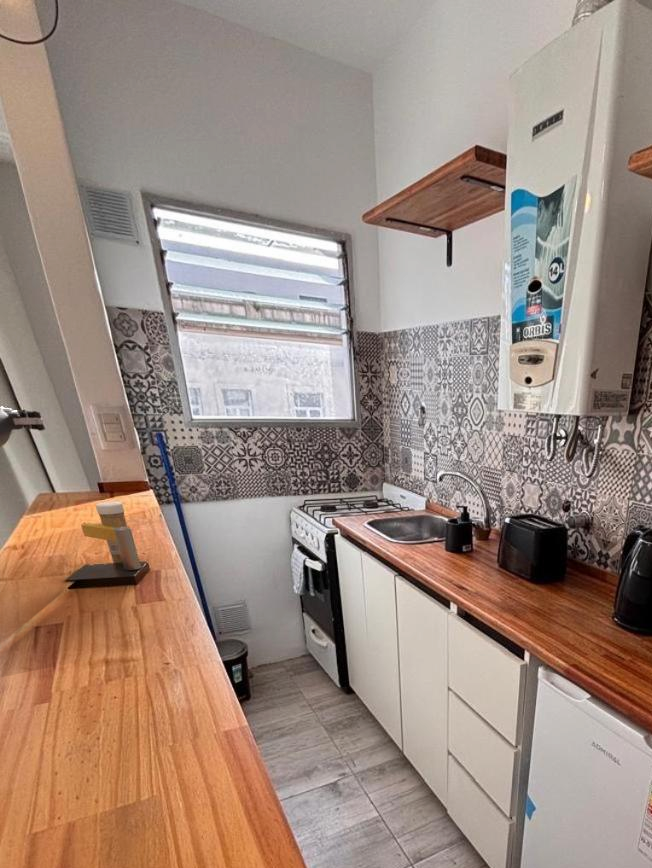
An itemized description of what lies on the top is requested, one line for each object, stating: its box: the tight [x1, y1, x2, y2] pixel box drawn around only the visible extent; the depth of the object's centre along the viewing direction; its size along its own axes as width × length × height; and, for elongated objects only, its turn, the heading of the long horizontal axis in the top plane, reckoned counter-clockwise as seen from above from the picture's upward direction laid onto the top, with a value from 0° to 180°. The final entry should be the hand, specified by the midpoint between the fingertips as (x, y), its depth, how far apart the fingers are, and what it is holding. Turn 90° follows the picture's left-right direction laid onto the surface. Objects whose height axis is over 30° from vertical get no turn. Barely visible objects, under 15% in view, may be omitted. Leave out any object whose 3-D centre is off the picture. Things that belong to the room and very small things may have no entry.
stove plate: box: [64, 560, 151, 590], centre depth 103 cm, size 12×10×2 cm
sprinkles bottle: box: [95, 501, 128, 563], centre depth 108 cm, size 5×5×13 cm
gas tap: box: [80, 522, 141, 570], centre depth 104 cm, size 12×3×8 cm, turn 68°
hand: (21, 417), depth 84 cm, fingers closed
